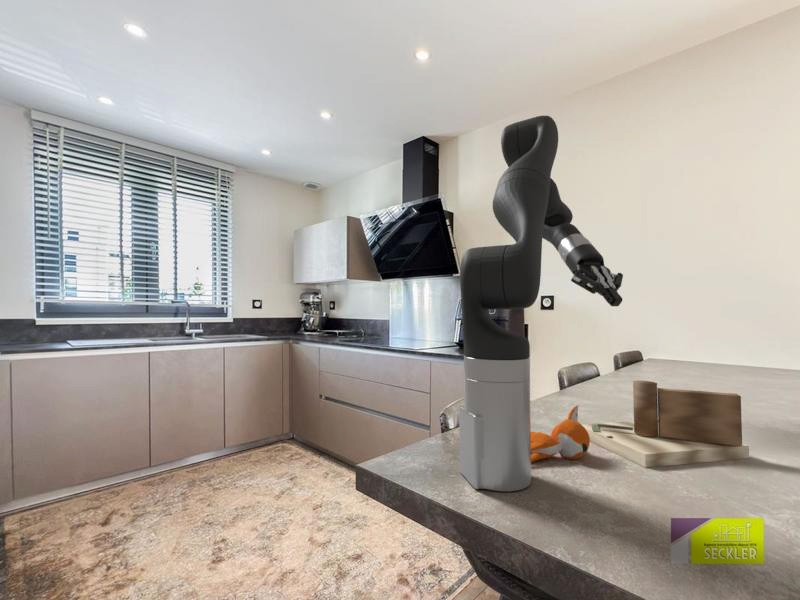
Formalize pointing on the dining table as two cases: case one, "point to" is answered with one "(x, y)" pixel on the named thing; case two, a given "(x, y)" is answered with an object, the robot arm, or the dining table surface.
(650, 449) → the light wood flat board
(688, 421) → the brown piece
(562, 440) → the toy
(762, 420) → the dining table surface
